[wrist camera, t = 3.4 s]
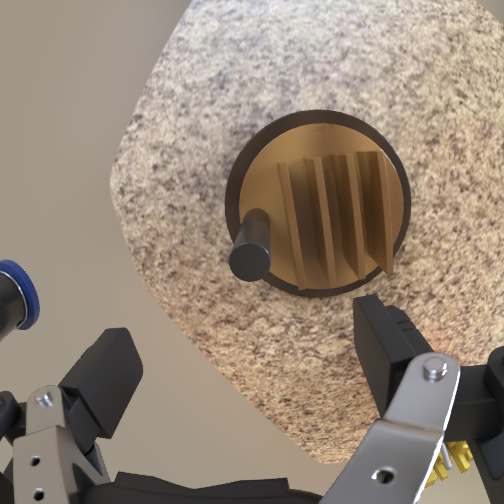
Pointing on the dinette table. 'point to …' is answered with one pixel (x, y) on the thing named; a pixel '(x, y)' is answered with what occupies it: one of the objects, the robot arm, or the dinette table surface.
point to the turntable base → (273, 132)
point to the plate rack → (318, 209)
